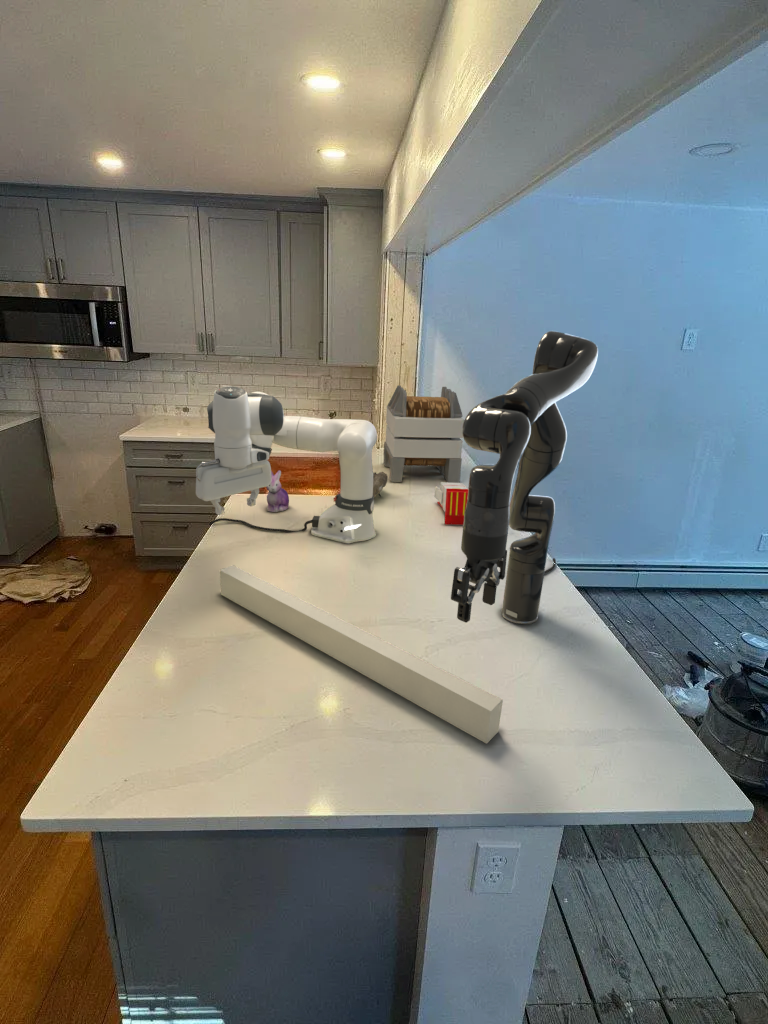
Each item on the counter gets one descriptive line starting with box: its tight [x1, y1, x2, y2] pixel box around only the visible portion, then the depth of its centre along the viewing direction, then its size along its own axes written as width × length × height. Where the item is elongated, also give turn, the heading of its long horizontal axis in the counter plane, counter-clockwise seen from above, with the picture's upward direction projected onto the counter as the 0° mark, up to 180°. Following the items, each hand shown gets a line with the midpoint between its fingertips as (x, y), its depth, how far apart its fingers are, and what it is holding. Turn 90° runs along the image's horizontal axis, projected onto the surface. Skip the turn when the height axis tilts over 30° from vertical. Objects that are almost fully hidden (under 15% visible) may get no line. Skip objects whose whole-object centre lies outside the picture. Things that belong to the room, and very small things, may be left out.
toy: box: [434, 481, 468, 526], centre depth 221 cm, size 12×13×30 cm
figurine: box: [265, 469, 290, 513], centre depth 216 cm, size 9×10×15 cm
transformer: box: [383, 384, 465, 483], centre depth 268 cm, size 34×33×41 cm
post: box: [219, 564, 504, 744], centre depth 129 cm, size 82×4×7 cm, turn 50°
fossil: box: [373, 471, 389, 498], centre depth 236 cm, size 22×10×15 cm
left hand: (236, 509), depth 142 cm, fingers open, 8 cm apart
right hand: (476, 611), depth 101 cm, fingers open, 8 cm apart
